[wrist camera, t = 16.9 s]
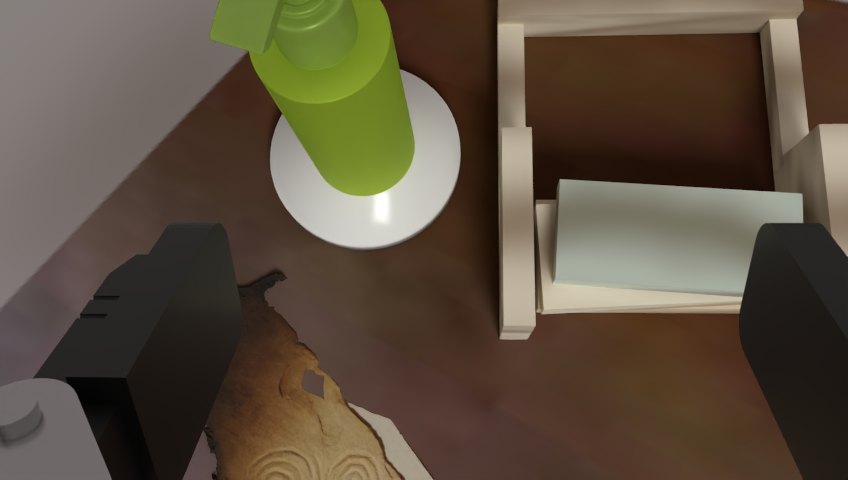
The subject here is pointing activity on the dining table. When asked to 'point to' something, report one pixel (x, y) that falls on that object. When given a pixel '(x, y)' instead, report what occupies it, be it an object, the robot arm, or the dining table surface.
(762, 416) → the dining table surface
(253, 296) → the parchment
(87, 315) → the robot arm
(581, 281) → the offcut rack
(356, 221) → the ceramic trivet
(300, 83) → the soap dispenser
